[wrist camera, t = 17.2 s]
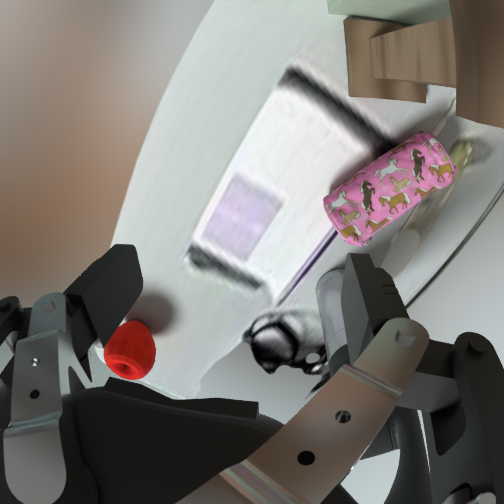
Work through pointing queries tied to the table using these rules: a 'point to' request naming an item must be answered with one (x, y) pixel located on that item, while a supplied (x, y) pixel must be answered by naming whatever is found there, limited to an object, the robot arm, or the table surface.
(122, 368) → the apple
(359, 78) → the walnut stand
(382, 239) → the table surface
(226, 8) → the table surface
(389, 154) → the pencil case
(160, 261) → the table surface
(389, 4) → the sage block
